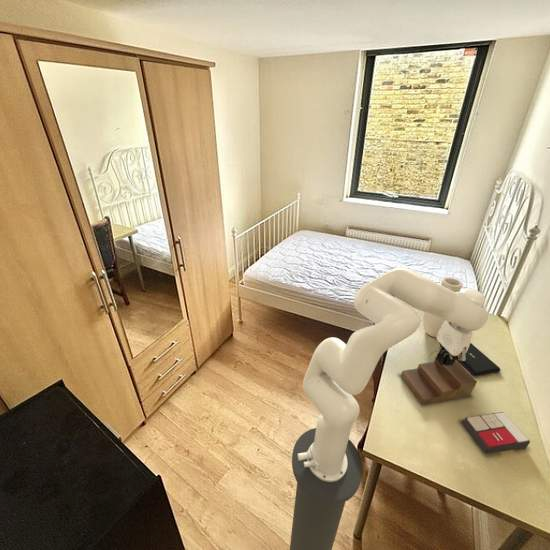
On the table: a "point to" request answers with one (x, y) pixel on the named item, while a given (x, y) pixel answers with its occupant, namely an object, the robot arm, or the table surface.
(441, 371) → the wooden stair steps
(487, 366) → the laptop
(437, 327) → the vase
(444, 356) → the clip
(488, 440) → the red grey flat block
